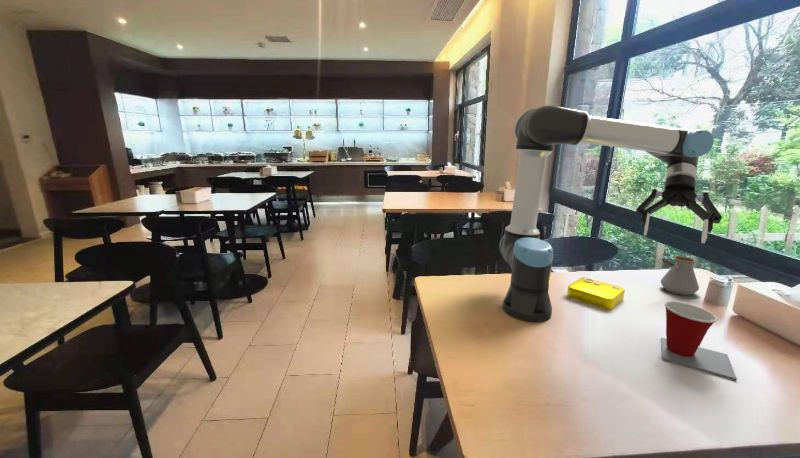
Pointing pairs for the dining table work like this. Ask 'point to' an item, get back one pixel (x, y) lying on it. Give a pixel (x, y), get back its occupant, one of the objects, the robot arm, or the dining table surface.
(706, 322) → the plastic cup
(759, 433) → the dining table surface
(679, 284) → the coffee pot
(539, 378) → the dining table surface
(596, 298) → the element tile
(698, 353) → the card
